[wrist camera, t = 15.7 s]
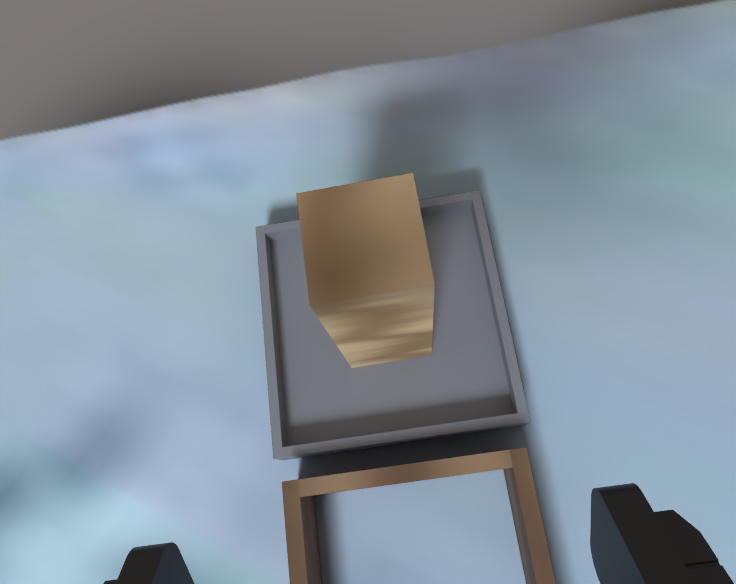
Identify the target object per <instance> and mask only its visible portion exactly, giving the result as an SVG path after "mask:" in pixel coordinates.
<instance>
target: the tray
mask: <svg viewBox="0 0 736 584" xmlns="http://www.w3.org/2000/svg"><path fill="white" fill-rule="evenodd" d="M419 206H420V211H421V216H422V221H423V226H424V231H425V237H426V242H427V247H428V252H429V257H430V262H431V267H432V273H433V278H434V283H435V289H434V312H433V335H432V355H428V356H422V357H416V358H410V359H404V360H397V361H391V362H385V363H379V364H373V365H367V366H361V367H355V368H351V366H350V365H349V363H348V362H347V360H346V359H345V357H344V356H343V354H342V353H341V351H340V350H339V348H338V347H337V345H336V344H335V342H334V341H333V339H332V338H331V336H330V335H329V333H328V332H327V330H326V329H325V328H324V326H323V325H322V323H321V322H320V320H319V319H318V317H317V316H316V314H315V313H314V311H313V310H312V308H311V307H310V305H309V297H308V289H307V280H306V272H305V263H304V255H303V246H302V238H301V229H300V221H299V220H295V221H288V222H282V223H276V224H270V225H264V226H258V227H256V238H257V252H258V265H259V278H260V291H261V304H262V317H263V330H264V343H265V356H266V369H267V382H268V395H269V408H270V421H271V434H272V447H273V459H279V460H286V459H293V458H300V457H307V456H314V455H321V454H328V453H335V452H342V451H349V450H356V449H363V448H370V447H377V446H384V445H391V444H398V443H405V442H412V441H419V440H426V439H433V438H440V437H447V436H454V435H461V434H468V433H475V432H482V431H489V430H496V429H503V428H510V427H516V426H523V425H526V424H527V423H529V422H530V418H529V413H528V409H527V404H526V400H525V395H524V390H523V386H522V381H521V377H520V372H519V368H518V363H517V358H516V354H515V349H514V345H513V340H512V336H511V331H510V326H509V322H508V317H507V313H506V308H505V304H504V299H503V294H502V290H501V285H500V281H499V276H498V272H497V267H496V262H495V258H494V253H493V249H492V244H491V240H490V235H489V230H488V226H487V221H486V217H485V212H484V208H483V203H482V198H481V194H480V190H477V191H471V192H465V193H459V194H453V195H447V196H441V197H434V198H428V199H422V200H419Z"/></svg>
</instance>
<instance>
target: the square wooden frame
mask: <svg viewBox="0 0 736 584" xmlns="http://www.w3.org/2000/svg"><path fill="white" fill-rule="evenodd" d="M498 469H504V475H505V480H506V485H507V490H508V495H509V500H510V505H511V510H512V515H513V520H514V525H515V530H516V535H517V540H518V545H519V550H520V555H521V560H522V565H523V570H524V575H525V580H526V584H556V582H555V578H554V573H553V568H552V564H551V559H550V554H549V550H548V545H547V540H546V536H545V531H544V526H543V522H542V517H541V512H540V508H539V503H538V498H537V494H536V489H535V484H534V480H533V475H532V470H531V466H530V461H529V456H528V452H527V447H524V448H517V449H510V450H503V451H496V452H489V453H482V454H475V455H468V456H461V457H454V458H447V459H440V460H433V461H425V462H418V463H411V464H404V465H397V466H390V467H383V468H376V469H369V470H362V471H355V472H348V473H341V474H333V475H326V476H319V477H312V478H305V479H298V480H291V481H284V482H282V490H283V503H284V515H285V528H286V540H287V553H288V565H289V577H290V584H322V575H321V565H320V554H319V544H318V534H317V523H316V513H315V502H314V495H320V494H327V493H334V492H341V491H348V490H355V489H363V488H370V487H377V486H384V485H391V484H398V483H405V482H413V481H420V480H427V479H434V478H441V477H448V476H456V475H463V474H470V473H477V472H484V471H491V470H498Z"/></svg>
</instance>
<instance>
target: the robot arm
mask: <svg viewBox="0 0 736 584" xmlns="http://www.w3.org/2000/svg"><path fill="white" fill-rule="evenodd" d="M590 545H591V553H592V558H593V563H594V566H595V570H596V573H597V576H598V578H599V581H600V583H601V584H734V583H733V581H732V580H731V578H730V577H729V575H728V574H727V572H726V571H725V569H724V568H723V566H722V565H721V566H720V564H719V562H718V559H717V557H716V555H715V554H714V552H713V551H712V549H711V548H710V546H709V545H708V543H707V542H706V540H705V539H704V537H703V536H702V534H701V533H700V531H698V530H697V529H696V528H695V527H693V526H692V525H691V524H690V523H688V522H687V521H686V520H685V519H684V518H682V517H681V516H680V515H679V514H677V513H676V512H675V511H674V510H667V511H659V512H653V510H652V508H651V506H650V505H649V503H648V501H647V500H646V498H645V496H644V495H643V493H642V491H641V490H640V488H639V487H638V486H637V485H636V484H634V483H631V484H624V485H616V486H609V487H601V488H594V489H593V490H592V493H591V535H590ZM104 584H194V582H193V580H192V577H191V575H190V573H189V571H188V569H187V566H186V564H185V562H184V560H183V557H182V555H181V553H180V551H179V549H178V547H177V545H176V544H175V543H172V542H171V543H164V544H156V545H149V546H141V547H135V548H133V549H132V550H131V551H130V552H129V554H128V556H127V558H126V560H125V562H124V565H123V567H122V570H121V572H120V575H119V577H118V579H117V580H110V581H105V582H104Z"/></svg>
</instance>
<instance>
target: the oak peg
mask: <svg viewBox="0 0 736 584" xmlns="http://www.w3.org/2000/svg"><path fill="white" fill-rule="evenodd" d="M296 195H297V204H298V212H299V221H300V229H301V238H302V246H303V255H304V263H305V272H306V280H307V289H308V297H309V305H310V307H311V308H312V310H313V311H314V313H315V314H316V316H317V317H318V319H319V320H320V322H321V323H322V325H323V326H324V328H325V329H326V330H327V332H328V333H329V335H330V336H331V338H332V339H333V341H334V342H335V344H336V345H337V347H338V348H339V350H340V351H341V353H342V354H343V356H344V357H345V359H346V360H347V362H348V363H349V365H350V366H351V368H355V367H361V366H367V365H373V364H379V363H385V362H391V361H397V360H404V359H410V358H416V357H422V356H428V355H432V335H433V312H434V289H435V283H434V278H433V273H432V267H431V262H430V257H429V252H428V247H427V242H426V237H425V231H424V226H423V221H422V216H421V211H420V206H419V200H418V195H417V190H416V185H415V180H414V175H413V173H409V174H403V175H397V176H392V177H386V178H381V179H375V180H369V181H364V182H358V183H353V184H347V185H341V186H336V187H330V188H325V189H319V190H313V191H308V192H302V193H296Z"/></svg>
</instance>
